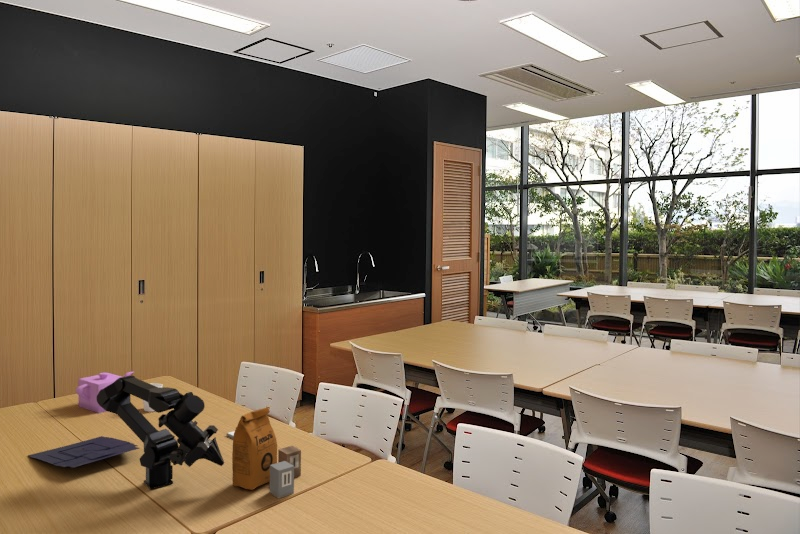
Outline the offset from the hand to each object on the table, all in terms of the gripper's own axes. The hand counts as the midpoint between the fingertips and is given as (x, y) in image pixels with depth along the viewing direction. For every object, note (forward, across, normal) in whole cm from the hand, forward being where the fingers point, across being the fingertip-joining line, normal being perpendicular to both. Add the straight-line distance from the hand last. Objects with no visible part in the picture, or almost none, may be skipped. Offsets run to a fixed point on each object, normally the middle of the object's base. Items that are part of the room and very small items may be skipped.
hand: (222, 464), depth 170 cm
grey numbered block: (+17, +4, +7) cm, 19 cm away
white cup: (-25, -77, -35) cm, 88 cm away
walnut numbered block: (+18, -8, +8) cm, 22 cm away
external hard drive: (+6, -45, -5) cm, 46 cm away
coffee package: (+12, -3, +1) cm, 12 cm away
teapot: (-39, -83, -50) cm, 104 cm away
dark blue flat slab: (-29, -26, -39) cm, 55 cm away
